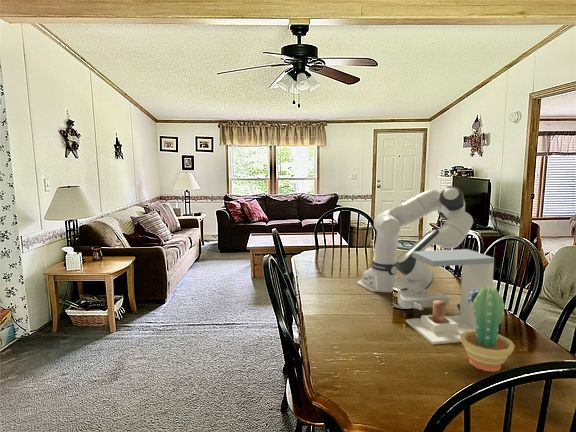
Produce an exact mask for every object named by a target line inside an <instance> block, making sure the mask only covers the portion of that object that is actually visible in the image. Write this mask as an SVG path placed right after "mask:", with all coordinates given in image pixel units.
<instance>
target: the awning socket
mask: <svg viewBox="0 0 576 432" xmlns="http://www.w3.org/2000/svg"><path fill="white" fill-rule="evenodd" d="M412 257H414V258H416V259H418V260H420V261H421V262H422V263H423V264H425V265H426V264H427V265H428V266H431V267H434V268H435V267H451V266H462V268H461V285H460V301H459V304H460V311H459V314H458V315H457V314H456V315H455V314H454V315H445V323H437V324H436V323H434V322H433V321H432V319H433V314H426V315H424V314H423V315H421V316H420V317H419V318H408V319H407V318H406V319H405V323H407V325H409V326H410V327H411V328H413V329H414V330H415V331H416V332H417V333H419V335H421V336H422V337H423V338H424V339H425V340H426V341H428V342H429V343H430V344H431V345H441V344H452V343H453V344H454V343H462V341H461V339H460V335H461V334H462V333H463V332H464V331H470V330H476V319H475V316H474V309H473V303H472V302H471V301H470V302H469V305H468V300H467V297H468V295H469V293H470V292H471V291H473V290H474V289H481V288H482V287H485V288H487V287H488V286H489V287H491V289H492V288H493V283H494V268H495V257H492V256H490V255H487V254H484V253H480V252H479V251H475V250H471V249H469V248H461V249H444V250H443V249H442V250H441V249H439V250H425V251H415V252H412Z"/></svg>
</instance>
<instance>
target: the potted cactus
mask: <svg viewBox="0 0 576 432" xmlns="http://www.w3.org/2000/svg"><path fill="white" fill-rule="evenodd" d="M467 300H468V305H469V302H470V301H471V302H472V303H473V309H474V316H475V319H476V330H470V331H464V332H463V333H462V334H461V335H460V339H461V341H462V342H461V343H462V345H463V346H464V350H465V352H466V354H467V356H468V357H469V363H470V365H472V366H474V367H475V368H476V369H478V370H482V371H484V372H498V371H500V370H501V369H502V365H503V364H504V363H505V362H506V361H507V359H508V357H509V356H511V354H512V353H513V352H514V350H515V347H516V346H515V344H514V343H513V341H512V340H511V339H509V338H507V337H506V336H503V335H501V334H499V329H500V324H501V322H502V320H503V317H504V311H505V303H504V299H503V297H502V295H501V294H500V292H499V291H498V289H497V287H492V289H491V287H489V286H488V287H487V288H485V287H482V288H481V289H474V290H473V291H471V292H470V293H469V295H468V297H467Z"/></svg>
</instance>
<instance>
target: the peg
mask: <svg viewBox="0 0 576 432" xmlns="http://www.w3.org/2000/svg"><path fill="white" fill-rule="evenodd" d="M446 308H447V305H446V302H444V301H441V300H435V301H433V306H432V315H433V319H432V321H433V322H434V323H436V324H437V323H445V316H446V312H447V311H446Z"/></svg>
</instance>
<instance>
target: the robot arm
mask: <svg viewBox="0 0 576 432" xmlns="http://www.w3.org/2000/svg"><path fill="white" fill-rule="evenodd" d="M436 211H437V214H438V215H440V216H441V217H442V218H444V219H445V220H446V221H445V222H444V223H443V225H442V226H441V227H439V228H438V229H431V230H429V231H428V232H426V233H425V234H423V236H421V237H420V239H418V240H417V241H416V242H415V243H414V244H413V245H412V246H411V247H410V248H408V249H407V250H406V251H405V252H403V253H402V254H400V255H399V256H398V257H397V254H398V253H397V250H398V243H399V236H400V233H401V232H400V231H401V227H404V226H407V225H409V224H413V223H415V222H417V221H419V220H420V219H423V218H424V217H425V216H427V215H429V214H431V213H432V212H436ZM473 224H474V219H473V216H472V215H471V214H470V213H468V212H467V211H466V202H465V195H464V193H463V191H462V190H461V188H459V187H458V186H454V185H449V186H446V187H444V188H442V190H441V191H440V192H439V191H438V189H434V188H430V189H427V190H425V191H423V192H420V193H418V194H416V195H414V196H413V197H411V198H409V199H407V200H406V201H404V202H402V203H400V204H398V205H396V206H394V207H391V208H388V209H387V210H384V211H383V212H381V213H379V214H377V215H375V216H374V219H373V228H374V229H375V230H376V236H375V237H376V239H375V244H374V257H373V258H374V259H373V261H371V262H369V263H370V265H371V267H369V268H368V269H367V270H365V271H363V272H362V275H361V279H359V280H357V282H356V285H359V286H360V287H362V288H364V289H367V290H368V291H371V292H375V293H376V292H377V293H393V292H392V289H393V287H394V288H398V289H400V290H398V293H397V304H398V305H399V306H400V307H401V308H403V309H417V310H419V311H424V310H425V308H431V307H432V308H433V301H435V300H441V301H444V302H446V306H448V305H449V302H450V299H449V296H448V295H447V294H444V293H442V292H439V291H430V292H427V290H428V289H429V288H430V287H431V285H432V284H433V281H434V278H435V276H434V272H433V271H432V270H431V269H430V268H429V267H428V266H427V265H426V264H425V263H424V262H422V261H420V260H418V259H416V258H414V257H412V252H415V251H427V249H428V248H429V247H430V246H432V245H436V246H438V247H440V248H443V249H447V250H453V249H455V248H458V247H459V245H461V244H462V243H463V241H464V240H465V238H466V237H467V235H468V234H469V233H470V230H471V228H472V226H473ZM397 271H399V272H400V273H401V274H403V275H404V276H399V277H398V276H397V275H398V274H397Z"/></svg>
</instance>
